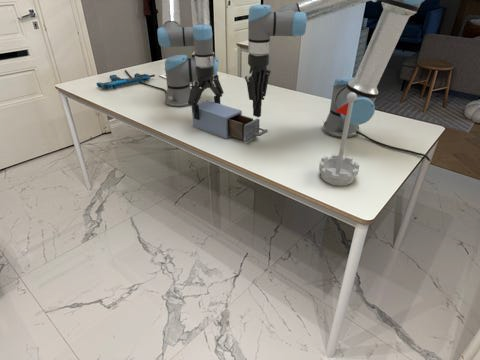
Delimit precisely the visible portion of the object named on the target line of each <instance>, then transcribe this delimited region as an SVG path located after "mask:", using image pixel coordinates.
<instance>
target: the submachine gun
mask: <svg viewBox="0 0 480 360" xmlns="http://www.w3.org/2000/svg"><path fill="white" fill-rule="evenodd" d="M154 77H156V74H147V73H142V74H141V73H139V72H137V73H135V74H133V78H130V77H128V78H121V77H119V76H118V75H117V74H110V75H109V79H111V81H107V82H96V83H95V84H96V87H98V88H99V89H101V90H102V91H103V90H109V89H113V90H116V88H118V87H119V88H120V87H122V86H127V85H133V84H138V83H139V82H148V81H149V80H150V79H151V78H154Z"/></svg>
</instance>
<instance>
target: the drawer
mask: <svg viewBox="0 0 480 360" xmlns="http://www.w3.org/2000/svg"><path fill="white" fill-rule="evenodd" d="M260 120H261V119H260V118H259V117H256V118H253V117H249V116H246V115H243V114H242V115H240V114H238V115H236V116H234V117H231V118H229V119H228V135H231V137H234V138H236V139H239V140H243V143H244V144H246V143H248V142H250V141H252V140H254V139H256V138H257V137H258V138H259V137H261V136H263V135H265V134H267V133H268V132H269V129H267V128H266V129H265V128H261V127H260Z"/></svg>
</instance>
